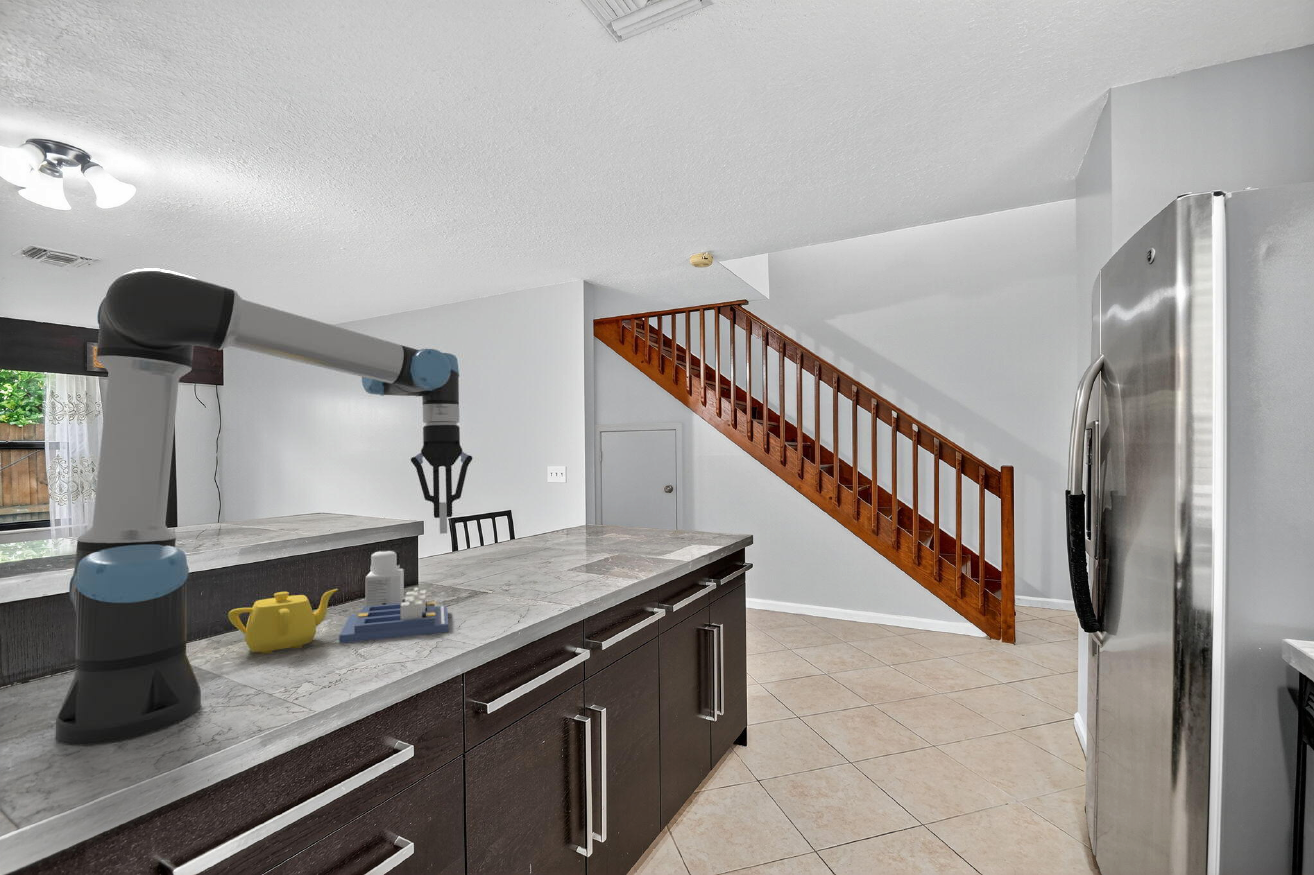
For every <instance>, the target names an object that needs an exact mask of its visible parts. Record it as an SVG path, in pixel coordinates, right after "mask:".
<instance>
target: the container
mask: <svg viewBox="0 0 1314 875" xmlns="http://www.w3.org/2000/svg"><path fill="white" fill-rule="evenodd" d="M400 553H401V552H399V551H398V550H396V549H383V550H381V549H380V550H375V551H374V552H372V553H371V554H370V562H369V564H370V568H369V569H370V572H369V573H368V574H367V575H366V576H365V581H364V582H365V584H364V585H365V586H364V587H365V588H364V589H365V599H364V600H365V601H364V602H365V603H364V604H365V606H377V605H388V604H399V603H402V602H404V601H403V600H404V599H405V597H404V596H405V593H404V592H405V591H404V590H405V588H404V587H405V583H404V582H405V581H404V580H405V576H404V575H405V574H404V573H405V570H404V568H400V567H401V566H400V565H401V564H400V563H401V562H400V561H401V557H400V556H401V554H400ZM365 606H364V607H365Z"/></svg>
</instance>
